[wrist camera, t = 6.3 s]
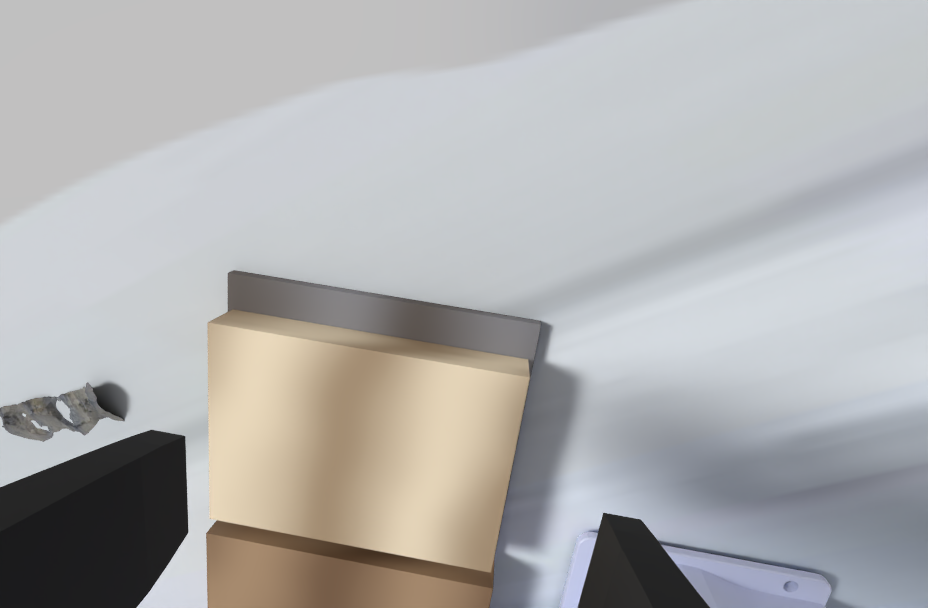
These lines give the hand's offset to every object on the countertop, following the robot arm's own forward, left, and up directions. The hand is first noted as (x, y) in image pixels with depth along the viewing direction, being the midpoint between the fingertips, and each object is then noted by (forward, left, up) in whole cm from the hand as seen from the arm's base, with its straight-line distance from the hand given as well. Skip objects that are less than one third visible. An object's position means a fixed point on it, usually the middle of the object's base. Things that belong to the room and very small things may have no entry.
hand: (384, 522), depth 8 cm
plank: (+3, +4, -9) cm, 10 cm away
